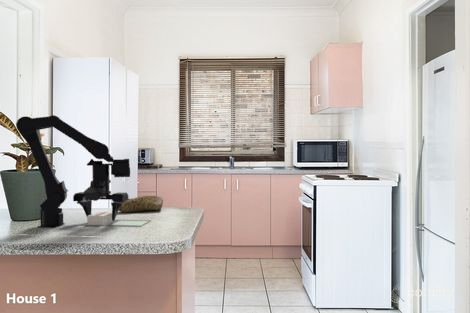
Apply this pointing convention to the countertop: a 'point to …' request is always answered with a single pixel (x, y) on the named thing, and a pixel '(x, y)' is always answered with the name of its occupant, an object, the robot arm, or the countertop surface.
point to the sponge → (142, 204)
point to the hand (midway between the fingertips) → (101, 220)
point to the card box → (99, 218)
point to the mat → (124, 223)
